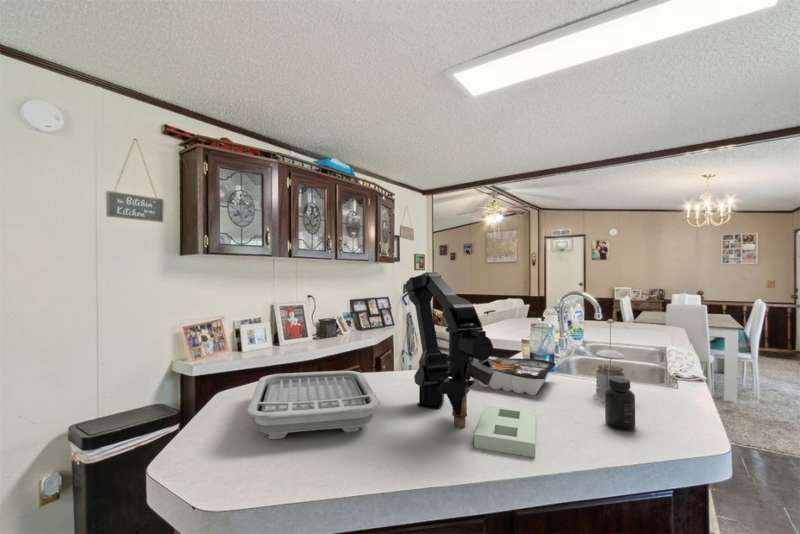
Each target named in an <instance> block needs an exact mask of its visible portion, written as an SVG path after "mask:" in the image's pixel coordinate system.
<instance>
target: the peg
mask: <svg viewBox="0 0 800 534" xmlns="http://www.w3.org/2000/svg"><path fill="white" fill-rule="evenodd" d="M467 397H468V393H467V394H466V396H464V397H463V403H462V408H461V414H460V415H456V414H455V412H454V409H453V408H452V413H451V416H453V427H454V426H455V427H454V428H456V427H459V428H458V429H464V428H463V427H465V428H466V417H468V413H467V409H468V408H467V406H468V404H467V402H468V401H467V400H468V399H467Z"/></svg>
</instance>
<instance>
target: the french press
mask: <svg viewBox="0 0 800 534" xmlns="http://www.w3.org/2000/svg"><path fill="white" fill-rule="evenodd" d="M606 322H607V324H609V349H602V350H599V351H598V352H596V353H595V355H596V356H597V357H598V358H602V359H606V360H608V359H609V364H606V362H605V361H604V360H603V363H602V364H599V365H597V368H598V369H597V370H595V372H596V373H595V374H596V376H595V378H596V384H595V387H596V388H595V390H596V391H595V393H594V394H593V395H592V398H594V399H595V400H597V401H599V402H603V403H605V391H606V389H608V388H610V386H609V378H624V379H626V378H625V372H623V371H624V368H623V367H621V366H617V365H612V362H611V360H623V359H625V358H626V356H625V355H624V354H623V353H621V352H619V351H617V350H615V349H611V348H612V346H611V345H612V324H614V323H615V321H614V319H612V318H609V319H608V320H607V321H606Z"/></svg>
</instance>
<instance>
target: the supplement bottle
mask: <svg viewBox="0 0 800 534" xmlns="http://www.w3.org/2000/svg"><path fill="white" fill-rule="evenodd" d="M609 386H610V388H608V389H606V391H605V402H604V417H605V419H604V421H605V424H606V426H608V427H610V428H611V429H614V430H618V431H626V432H627V431H629V432H630V431H633V430H634V429H635V428H636V395H635V393H634V392H633V391H632V390H631V380H630V379H627V378H625V379H624V378H609Z"/></svg>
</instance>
